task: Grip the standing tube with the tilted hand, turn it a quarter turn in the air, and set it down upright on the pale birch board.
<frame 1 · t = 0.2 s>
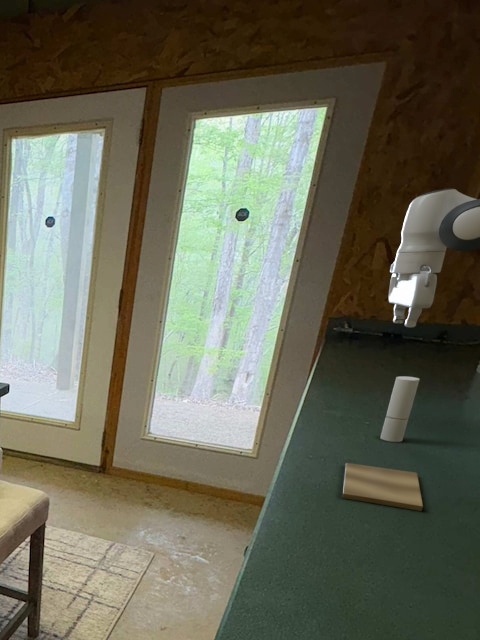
hand: (403, 325, 152), 26 cm above the kitchen counter, tool pointing down, fingers open, 8 cm apart
tube: (390, 439, 152), on the kitchen counter
birch board: (380, 487, 125), on the kitchen counter
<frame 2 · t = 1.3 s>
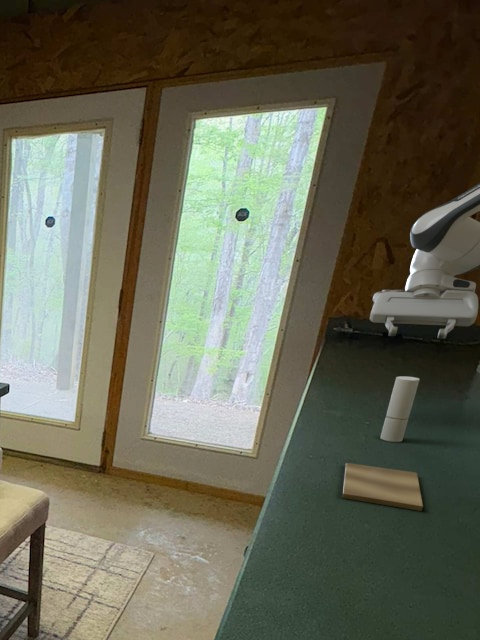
hand: (416, 335, 152), 23 cm above the kitchen counter, tool tilted 45°, fingers open, 8 cm apart
nothing on the kitchen counter moved.
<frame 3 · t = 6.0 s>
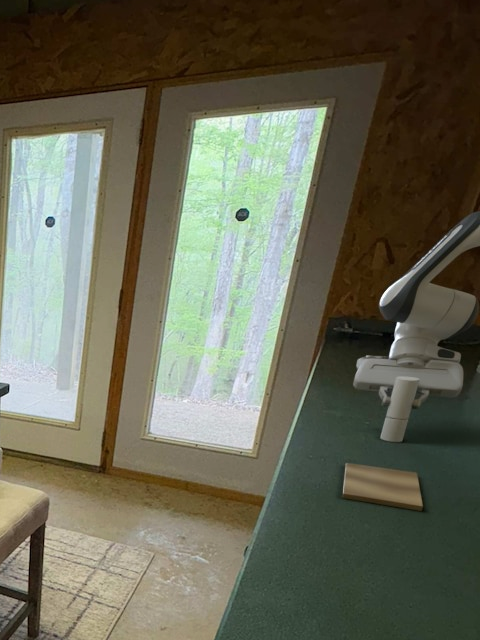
hand: (400, 406, 148), 8 cm above the kitchen counter, tool tilted 45°, fingers closed on tube, 4 cm apart
tube: (391, 439, 152), on the kitchen counter, touching gripper
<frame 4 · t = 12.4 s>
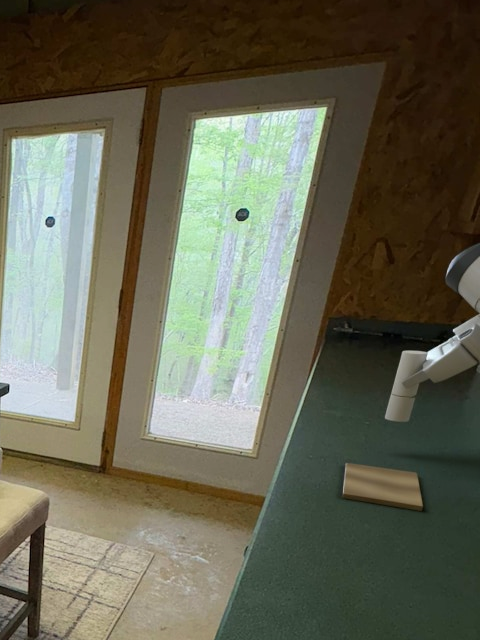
hand: (403, 382, 137), 16 cm above the kitchen counter, tool tilted 45°, fingers closed on tube, 4 cm apart
tube: (396, 420, 140), point 8 cm above the kitchen counter, touching gripper
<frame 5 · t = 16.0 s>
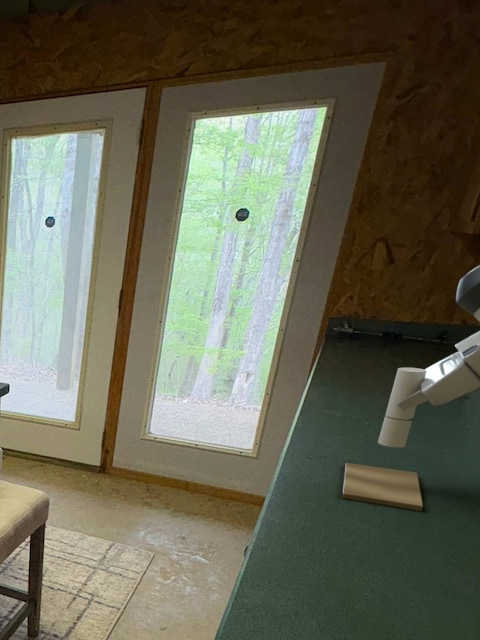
hand: (399, 403, 122), 16 cm above the kitchen counter, tool tilted 45°, fingers closed on tube, 4 cm apart
tube: (391, 445, 125), point 8 cm above the kitchen counter, touching gripper
when the fingers open (9 cm above the kitchen counter, at t = 19.0 s): tube stays where it is, resting on birch board.
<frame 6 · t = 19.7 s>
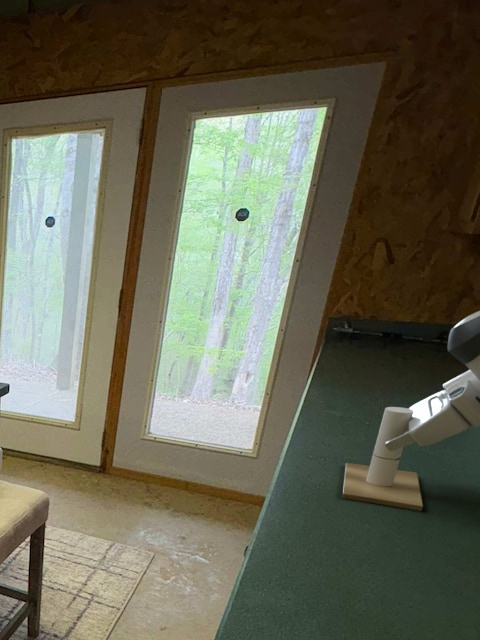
hand: (387, 440, 122), 10 cm above the kitchen counter, tool tilted 45°, fingers open, 8 cm apart
tube: (379, 483, 125), point 1 cm above the kitchen counter, touching birch board
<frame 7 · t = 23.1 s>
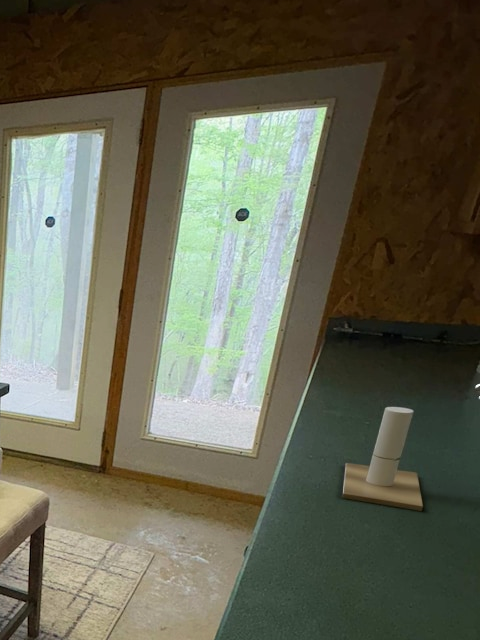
hand: (479, 396, 116), 19 cm above the kitchen counter, tool tilted 45°, fingers open, 8 cm apart
nothing on the kitchen counter moved.
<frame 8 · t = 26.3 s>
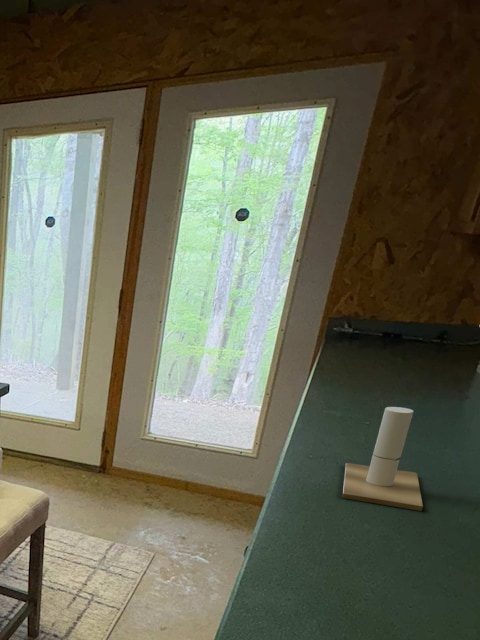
nothing on the kitchen counter moved.
at the end: tube inside the target area on the birch board (0.4 cm from its centre), point 0.8 cm above the birch board's base; tube tilted 0°; the gripper is holding nothing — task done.
